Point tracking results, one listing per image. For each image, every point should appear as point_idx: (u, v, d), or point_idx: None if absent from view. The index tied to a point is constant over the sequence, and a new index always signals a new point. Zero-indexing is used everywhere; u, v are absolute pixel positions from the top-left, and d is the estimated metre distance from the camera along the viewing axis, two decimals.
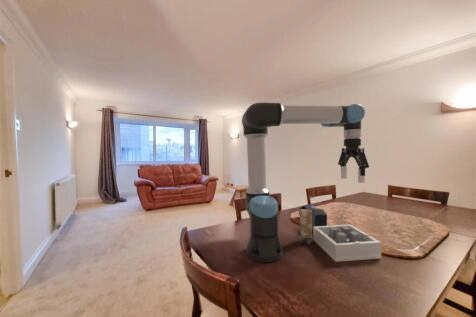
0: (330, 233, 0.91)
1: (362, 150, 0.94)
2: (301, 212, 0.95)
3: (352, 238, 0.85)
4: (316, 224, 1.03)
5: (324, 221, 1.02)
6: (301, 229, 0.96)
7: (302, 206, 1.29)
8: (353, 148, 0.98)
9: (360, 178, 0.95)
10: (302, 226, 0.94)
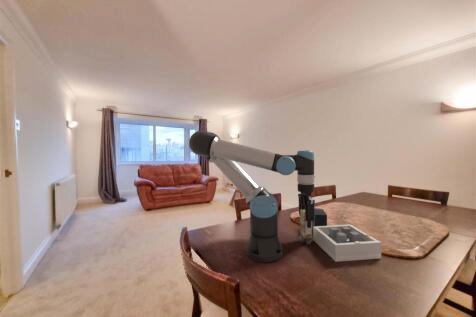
0: (330, 233, 0.91)
1: (313, 202, 0.89)
2: (301, 212, 0.95)
3: (352, 238, 0.85)
4: (316, 224, 1.03)
5: (324, 221, 1.02)
6: (301, 229, 0.96)
7: None
8: (306, 195, 0.92)
9: (306, 230, 0.93)
10: (302, 226, 0.94)
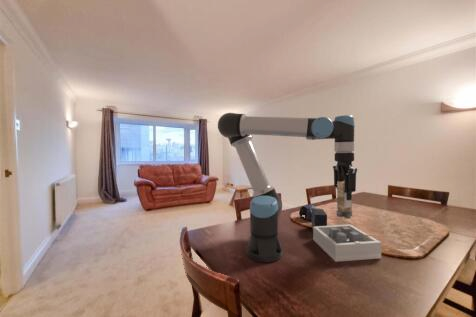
0: (330, 233, 0.91)
1: (355, 171, 0.81)
2: (339, 184, 0.87)
3: (352, 238, 0.85)
4: (316, 224, 1.03)
5: (324, 221, 1.02)
6: (339, 203, 0.87)
7: (302, 206, 1.29)
8: (346, 164, 0.84)
9: (346, 203, 0.85)
10: (341, 198, 0.86)
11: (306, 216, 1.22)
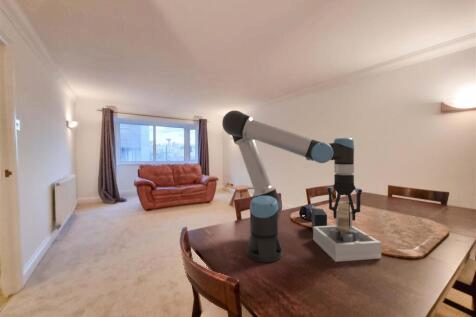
0: (331, 236, 0.88)
1: None
2: (341, 205, 0.86)
3: (354, 236, 0.86)
4: (316, 224, 1.03)
5: (324, 221, 1.02)
6: (342, 224, 0.86)
7: (302, 207, 1.29)
8: (351, 185, 0.85)
9: None
10: (346, 219, 0.85)
11: (306, 216, 1.22)
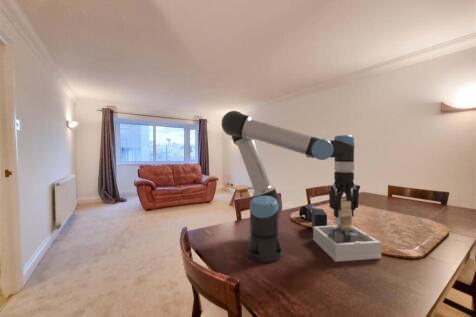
0: (338, 239, 0.85)
1: None
2: (345, 204, 0.85)
3: None
4: (316, 224, 1.03)
5: (324, 221, 1.02)
6: (345, 223, 0.86)
7: (302, 206, 1.29)
8: (352, 182, 0.86)
9: None
10: (348, 217, 0.86)
11: (306, 216, 1.22)
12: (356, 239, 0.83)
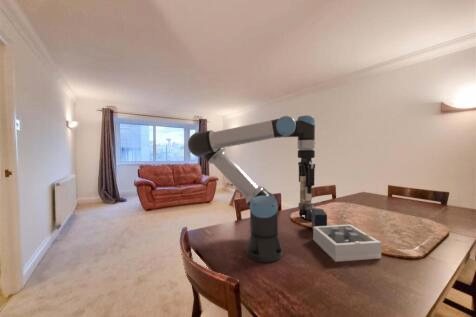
0: (338, 240, 0.85)
1: (313, 167, 0.88)
2: (301, 178, 0.95)
3: None
4: (316, 224, 1.03)
5: (324, 221, 1.02)
6: (301, 196, 0.95)
7: None
8: (306, 160, 0.91)
9: (307, 196, 0.92)
10: (301, 192, 0.94)
11: (306, 216, 1.22)
12: (356, 239, 0.83)
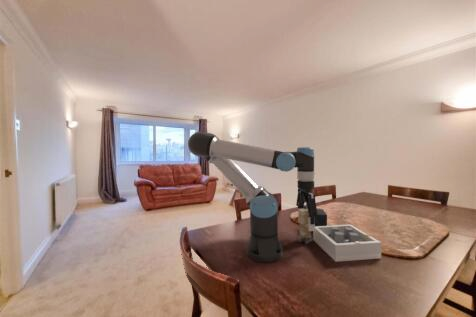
0: (338, 240, 0.85)
1: (313, 196, 0.88)
2: (299, 212, 0.96)
3: None
4: (316, 224, 1.03)
5: (324, 221, 1.02)
6: (300, 229, 0.96)
7: None
8: (305, 191, 0.92)
9: (310, 226, 0.89)
10: (301, 225, 0.95)
11: None
12: (356, 239, 0.83)
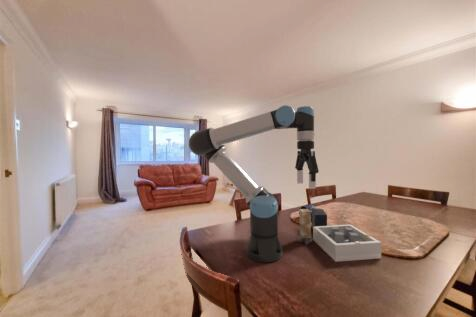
0: (338, 240, 0.85)
1: (313, 153, 0.87)
2: (300, 212, 0.96)
3: None
4: (316, 224, 1.03)
5: (324, 221, 1.02)
6: (300, 229, 0.96)
7: (302, 206, 1.29)
8: (305, 151, 0.91)
9: (310, 184, 0.87)
10: (301, 225, 0.94)
11: None
12: (356, 239, 0.83)
